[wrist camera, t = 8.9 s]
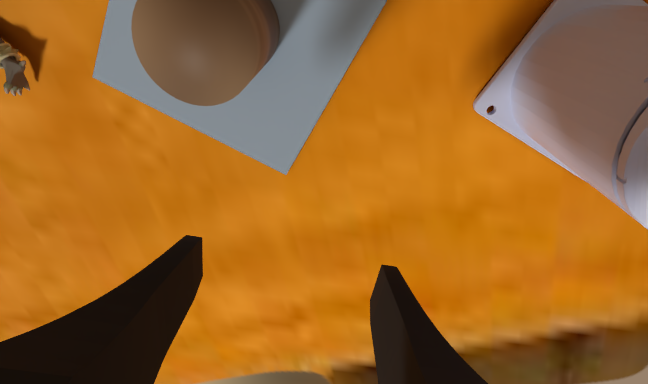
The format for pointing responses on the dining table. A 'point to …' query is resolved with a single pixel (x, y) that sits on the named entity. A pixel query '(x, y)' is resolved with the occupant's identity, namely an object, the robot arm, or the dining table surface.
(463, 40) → the dining table surface
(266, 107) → the slate-blue mat
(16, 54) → the figurine
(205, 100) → the walnut cylinder
